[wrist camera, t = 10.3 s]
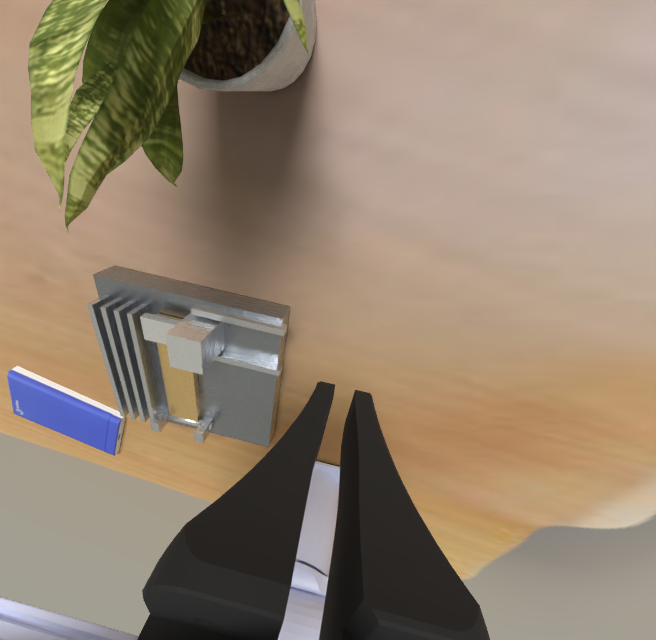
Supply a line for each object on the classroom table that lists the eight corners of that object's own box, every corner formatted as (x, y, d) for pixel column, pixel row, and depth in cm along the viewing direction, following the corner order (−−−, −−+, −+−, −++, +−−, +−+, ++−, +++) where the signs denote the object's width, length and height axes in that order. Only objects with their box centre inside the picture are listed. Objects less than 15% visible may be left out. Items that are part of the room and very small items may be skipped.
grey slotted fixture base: (278, 431, 30) (266, 465, 26) (144, 397, 30) (116, 426, 27) (295, 307, 22) (280, 333, 19) (114, 265, 22) (70, 284, 19)
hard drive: (13, 415, 34) (113, 457, 36) (5, 372, 30) (118, 422, 31) (27, 405, 35) (122, 446, 37) (21, 363, 31) (129, 411, 33)
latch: (224, 348, 22) (202, 374, 20) (159, 332, 23) (129, 356, 20) (223, 318, 21) (200, 342, 18) (154, 301, 21) (121, 323, 18)
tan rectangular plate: (201, 417, 27) (198, 422, 27) (173, 410, 27) (169, 415, 27) (192, 321, 21) (188, 325, 21) (157, 313, 22) (152, 317, 21)
